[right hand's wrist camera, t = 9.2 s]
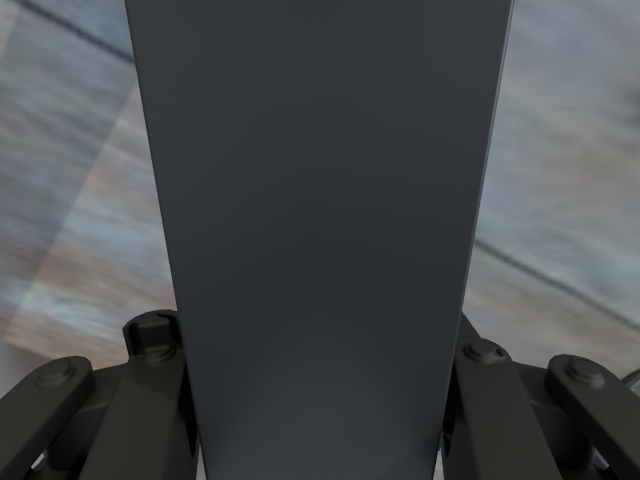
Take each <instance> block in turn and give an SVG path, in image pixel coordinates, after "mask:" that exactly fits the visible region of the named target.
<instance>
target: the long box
mask: <svg viewBox="0 0 640 480" xmlns="http://www.w3.org/2000/svg"><path fill="white" fill-rule="evenodd" d="M514 1H515V0H125V6H126V12H127V18H128V24H129V29H130V35H131V41H132V47H133V53H134V59H135V65H136V70H137V76H138V82H139V88H140V94H141V100H142V105H143V111H144V117H145V123H146V129H147V135H148V141H149V146H150V152H151V158H152V164H153V170H154V176H155V182H156V187H157V193H158V199H159V205H160V211H161V217H162V223H163V228H164V234H165V240H166V246H167V252H168V258H169V264H170V269H171V275H172V281H173V287H174V293H175V299H176V304H177V310H178V316H179V322H180V328H181V334H182V340H183V345H184V351H185V357H186V363H187V369H188V375H189V381H190V386H191V392H192V398H193V404H194V410H195V416H196V422H197V427H198V433H199V439H200V445H201V451H202V456H203V463H204V468H205V474H206V480H433V477H434V471H435V465H436V459H437V453H438V447H439V442H440V436H441V430H442V424H443V418H444V412H445V406H446V400H447V395H448V389H449V383H450V377H451V371H452V365H453V359H454V353H455V348H456V342H457V336H458V330H459V324H460V318H461V312H462V306H463V301H464V295H465V289H466V283H467V277H468V271H469V265H470V259H471V254H472V248H473V242H474V236H475V230H476V224H477V218H478V212H479V206H480V201H481V195H482V189H483V183H484V177H485V171H486V165H487V159H488V154H489V148H490V142H491V136H492V130H493V124H494V118H495V112H496V107H497V101H498V95H499V89H500V83H501V77H502V71H503V65H504V60H505V54H506V48H507V42H508V36H509V30H510V24H511V18H512V13H513V7H514Z"/></svg>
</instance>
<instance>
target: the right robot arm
mask: <svg viewBox="0 0 640 480" xmlns="http://www.w3.org/2000/svg"><path fill="white" fill-rule="evenodd" d="M122 330H123V334H124V338H125V342H126V346H127V350H128V354H129V360H128V362H127V363H124V364H121V365H117V366H112V367H107V368H103V369H98V370H93V368H92V365H91V362H90V361H89V360H88V359H87V358H86V357H80V356H70V357H63V358H59V359H56V360H53V361H50V362H48V363H46V364H44V365H42V366H40V367H38V368H37V369H35V370H34V371H33V372H31V373H30V374H28V375H27V376H26V377H25V378H24V379H22V380H21V381H20V382H19V383H18V384H17V385H16V386H15V387H14V388H12V389H11V390H10V391H9V392H8V393H7V394H6V395H5V396H4V397H2V398H1V399H0V480H196V474H197V465H198V455H199V446H200V439H199V433H198V427H197V422H196V416H195V410H194V404H193V398H192V392H191V386H190V381H189V375H188V369H187V363H186V357H185V351H184V345H183V340H182V334H181V328H180V322H179V316H178V312H177V311H173V310H155V311H150V312H146V313H144V314H141V315H139V316H136V317H135V318H133V319H132V320H130V321H129V322H127V324H126V325H125V326H124V327H123V328H122ZM440 446H441V454H442V464H443V473H444V480H640V370H639V371H638V372H636V373H634V374H633V375H631V376H630V377H629V378H627V379H626V380H625V381H623V382H622V381H621V380H620V379H619V378H617V377H616V376H615V375H614V374H613V373H611V372H610V371H609V370H607V369H606V368H604V367H603V366H601V365H599V364H597V363H595V362H593V361H591V360H589V359H586V358H582V357H579V356H575V355H566V354H563V355H556V356H554V357H553V358H551V359H550V361H549V364H548V367H547V369H544V368H539V367H535V366H530V365H525V364H521V363H517V362H514V361H512V359H511V357H510V356H509V354H508V353H507V352H506V350H505V349H503V348H502V347H500V346H499V345H498V344H496V343H494V342H492V341H489V340H487V339H483V338H481V337H480V336H479V335H478V333H477V332H476V330H475V329H474V327H473V326H472V325H471V323H470V322H469V320H468V319H467V317H466V316H465V315H464V314H463V312H461V318H460V324H459V330H458V336H457V342H456V348H455V353H454V359H453V365H452V371H451V377H450V383H449V389H448V395H447V400H446V406H445V412H444V418H443V424H442V430H441V436H440V442H439V447H438V451H440ZM597 451H598V452H599V453H600V454H601V455H602V457H603V458H604V459H605V460H606V461H607V463H608V464H609V467H608V468H607V467H606V466H605V465H604V464H603V463H602V462H601V461H600V460H599V458H598V457H597V456H596V454H597ZM42 453H43V455H44V458H43V459H42V460H41V461H40V463H39V464H38V465H37V466H35V467H34V468H33V469H32V468H31V466H32V465H33V464H34V462H35V461H36V460H37V459H38V457H39V456H40V455H41V454H42Z"/></svg>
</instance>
